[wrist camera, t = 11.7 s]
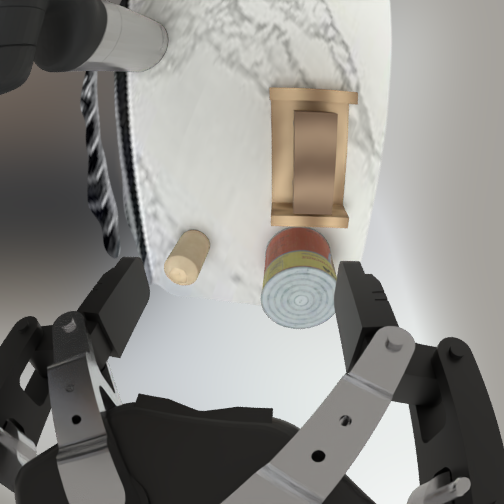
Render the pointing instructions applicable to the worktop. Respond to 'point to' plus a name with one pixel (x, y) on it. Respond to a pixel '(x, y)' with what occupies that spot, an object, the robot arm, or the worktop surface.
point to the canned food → (298, 279)
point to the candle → (187, 258)
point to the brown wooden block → (314, 161)
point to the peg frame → (283, 148)
